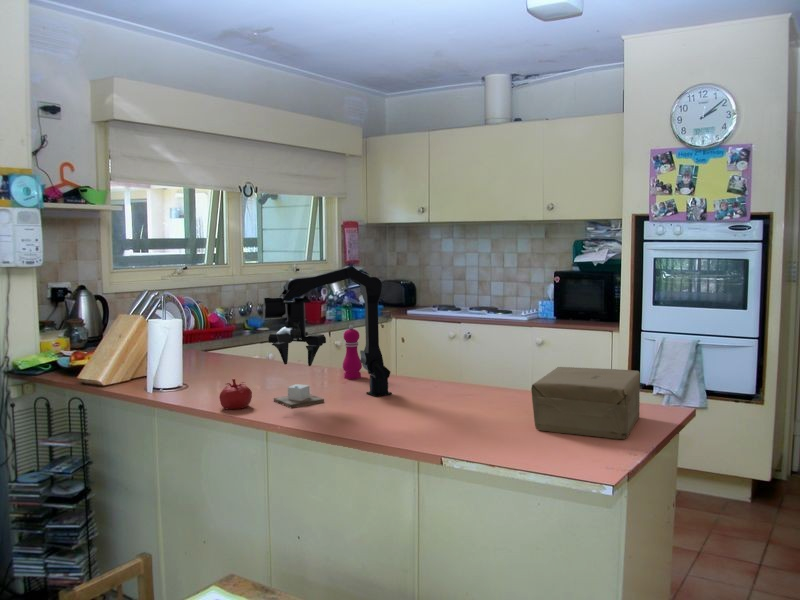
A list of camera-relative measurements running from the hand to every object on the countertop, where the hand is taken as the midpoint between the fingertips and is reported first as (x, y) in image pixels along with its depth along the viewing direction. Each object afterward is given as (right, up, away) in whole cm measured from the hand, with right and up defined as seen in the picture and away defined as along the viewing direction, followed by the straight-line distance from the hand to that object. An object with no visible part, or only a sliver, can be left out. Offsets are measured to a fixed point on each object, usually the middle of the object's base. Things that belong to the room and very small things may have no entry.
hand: (297, 365), depth 229 cm
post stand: (0, -12, +1) cm, 12 cm away
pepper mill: (+15, -8, +39) cm, 42 cm away
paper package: (+85, -14, -32) cm, 92 cm away
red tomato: (-19, -13, -5) cm, 23 cm away
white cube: (0, -11, +1) cm, 11 cm away
